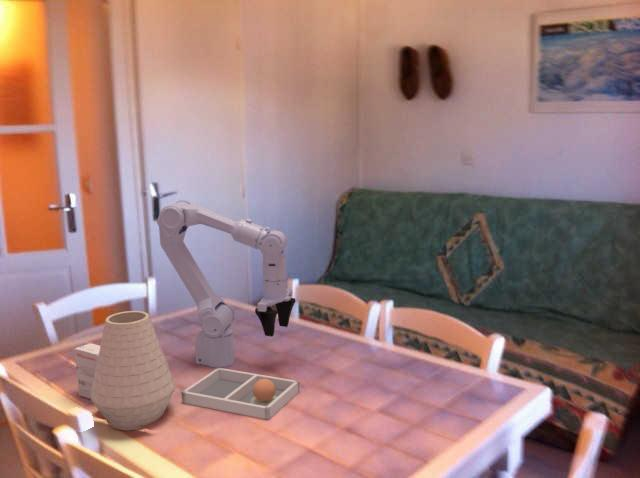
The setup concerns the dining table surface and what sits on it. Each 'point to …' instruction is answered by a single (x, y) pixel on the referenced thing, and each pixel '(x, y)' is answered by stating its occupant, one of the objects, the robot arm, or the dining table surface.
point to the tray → (238, 393)
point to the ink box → (86, 367)
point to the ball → (264, 390)
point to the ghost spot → (257, 402)
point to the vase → (131, 373)
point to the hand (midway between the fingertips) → (276, 330)
